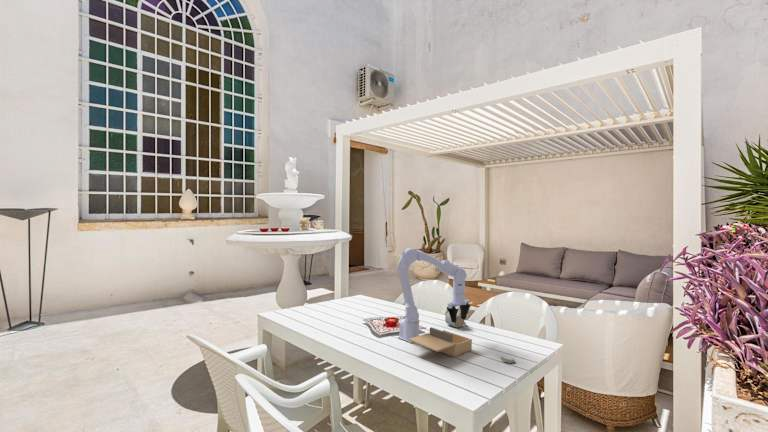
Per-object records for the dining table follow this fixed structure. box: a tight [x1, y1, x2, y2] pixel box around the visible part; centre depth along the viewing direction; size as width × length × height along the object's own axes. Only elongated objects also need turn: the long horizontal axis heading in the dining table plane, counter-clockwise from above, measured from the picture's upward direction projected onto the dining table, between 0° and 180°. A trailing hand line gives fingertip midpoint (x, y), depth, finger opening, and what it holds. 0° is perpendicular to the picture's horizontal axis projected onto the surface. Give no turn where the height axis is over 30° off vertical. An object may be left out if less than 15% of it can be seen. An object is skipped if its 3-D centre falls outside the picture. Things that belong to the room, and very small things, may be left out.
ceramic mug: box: [445, 312, 467, 329], centre depth 195 cm, size 11×8×8 cm
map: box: [501, 356, 516, 364], centre depth 156 cm, size 5×20×1 cm, turn 170°
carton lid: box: [408, 326, 457, 353], centre depth 155 cm, size 17×13×4 cm
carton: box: [439, 330, 473, 358], centre depth 162 cm, size 16×12×5 cm
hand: (458, 320), depth 173 cm, fingers open, 7 cm apart
